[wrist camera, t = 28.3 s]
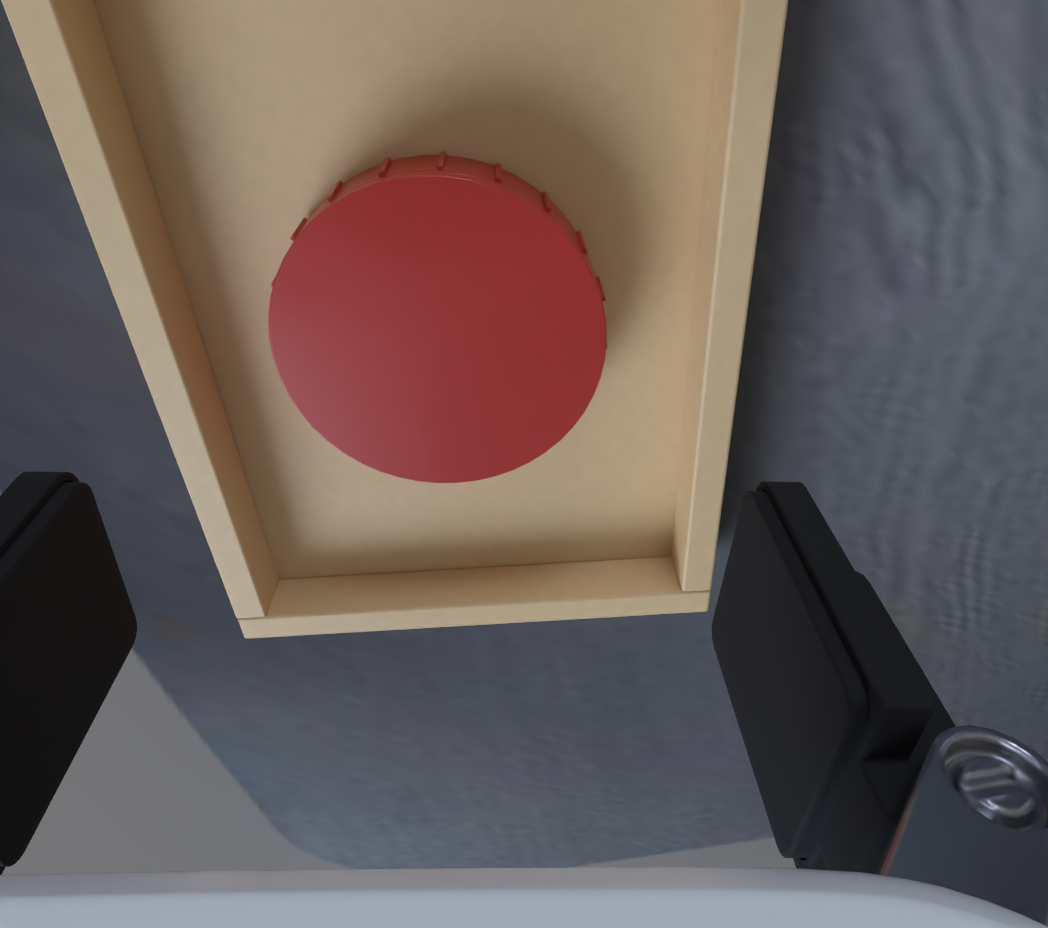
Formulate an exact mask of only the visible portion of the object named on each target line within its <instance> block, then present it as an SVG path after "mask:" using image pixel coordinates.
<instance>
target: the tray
mask: <svg viewBox="0 0 1048 928" xmlns="http://www.w3.org/2000/svg"><path fill="white" fill-rule="evenodd" d="M1 1H2V3H3V6H4V8H5V11H6V14H7V16H8V19H9V22H10V24H11V27H12V29H13V32H14V35H15V37H16V40H17V43H18V45H19V48H20V50H21V53H22V56H23V58H24V61H25V64H26V66H27V69H28V71H29V74H30V77H31V79H32V82H33V85H34V87H35V90H36V92H37V95H38V98H39V100H40V103H41V106H42V108H43V111H44V113H45V116H46V119H47V121H48V124H49V127H50V129H51V132H52V134H53V137H54V140H55V142H56V145H57V148H58V150H59V153H60V155H61V158H62V161H63V163H64V166H65V169H66V171H67V174H68V176H69V179H70V182H71V184H72V187H73V190H74V192H75V195H76V197H77V200H78V203H79V205H80V208H81V211H82V213H83V216H84V218H85V221H86V224H87V226H88V229H89V232H90V234H91V237H92V239H93V242H94V245H95V247H96V250H97V253H98V255H99V258H100V260H101V263H102V266H103V268H104V271H105V274H106V276H107V279H108V281H109V284H110V287H111V289H112V292H113V295H114V297H115V300H116V302H117V305H118V308H119V310H120V313H121V316H122V318H123V321H124V324H125V326H126V329H127V331H128V334H129V337H130V339H131V342H132V345H133V347H134V350H135V352H136V355H137V358H138V360H139V363H140V366H141V368H142V371H143V373H144V376H145V379H146V381H147V384H148V387H149V389H150V392H151V394H152V397H153V400H154V402H155V405H156V408H157V410H158V413H159V415H160V418H161V421H162V423H163V426H164V429H165V431H166V434H167V436H168V439H169V442H170V444H171V447H172V450H173V452H174V455H175V457H176V460H177V463H178V465H179V468H180V471H181V473H182V476H183V478H184V481H185V484H186V486H187V489H188V492H189V494H190V497H191V499H192V502H193V505H194V507H195V510H196V513H197V515H198V518H199V520H200V523H201V526H202V528H203V531H204V534H205V536H206V539H207V541H208V544H209V547H210V549H211V552H212V555H213V557H214V560H215V562H216V565H217V568H218V570H219V573H220V576H221V578H222V581H223V583H224V586H225V589H226V591H227V594H228V597H229V599H230V602H231V604H232V607H233V610H234V612H235V615H236V617H237V618H238V621H239V624H240V627H241V629H242V632H243V634H244V637H245V638H264V637H281V636H298V635H315V634H332V633H349V632H366V631H383V630H400V629H417V628H434V627H451V626H467V625H484V624H501V623H518V622H535V621H552V620H569V619H586V618H603V617H620V616H637V615H654V614H671V613H688V612H705V611H707V610H708V608H709V600H710V593H711V591H710V589H711V585H712V577H713V570H714V562H715V555H716V547H717V539H718V532H719V524H720V517H721V509H722V501H723V494H724V486H725V479H726V471H727V463H728V456H729V448H730V441H731V433H732V425H733V418H734V410H735V402H736V395H737V387H738V380H739V372H740V364H741V357H742V349H743V342H744V334H745V326H746V319H747V311H748V304H749V296H750V288H751V281H752V273H753V266H754V258H755V250H756V243H757V235H758V228H759V220H760V212H761V205H762V197H763V190H764V182H765V174H766V167H767V159H768V152H769V144H770V136H771V129H772V121H773V113H774V106H775V98H776V91H777V83H778V75H779V68H780V60H781V53H782V45H783V37H784V30H785V22H786V15H787V7H788V0H1ZM441 151H446V155H450V156H456V157H463V158H470V159H474V160H477V161H481V162H484V163H487V164H491V165H494V166H495V165H496V163H499V164H501V169H503V170H505V171H507V172H510V173H512V174H514V175H516V176H517V177H519V178H521V179H522V180H524V181H526V182H527V183H529V184H530V185H532V186H534V187H535V188H536V189H537V190H538V191H540V192H541V193H543V192H544V191H546V192H547V193H548V195H549V199H550V200H551V201H552V203H553V204H554V205H555V206H556V207H557V208H558V209H559V210H560V211H561V212H562V213H563V214H564V215H565V217H566V218H567V219H568V221H569V222H570V224H571V225H572V227H573V228H574V229H575V231H576V232H577V231H579V230H580V231H581V233H582V235H583V239H584V242H585V246H586V249H587V254H588V256H589V259H590V262H591V265H592V268H593V271H594V274H595V277H598V276H599V278H600V282H601V285H602V288H603V291H604V294H605V298H606V301H603V306H604V312H605V317H606V329H607V345H608V346H607V349H606V356H605V362H604V366H603V370H602V374H601V378H600V381H599V383H598V386H597V388H596V391H595V394H594V396H593V398H592V399H591V401H590V403H589V405H588V407H587V408H586V410H585V412H584V413H583V415H582V416H581V417H580V419H579V420H578V421H577V423H576V424H575V425H574V427H573V428H572V429H571V430H570V431H569V432H568V433H567V434H566V435H565V436H564V437H563V438H562V439H561V440H560V441H559V442H558V443H557V444H555V445H554V446H553V447H552V448H550V449H549V450H548V451H547V452H545V453H544V454H542V455H541V456H539V457H537V458H536V459H534V460H533V461H531V462H529V463H527V464H525V465H523V466H521V467H519V468H517V469H515V470H512V471H510V472H507V473H504V474H501V475H498V476H495V477H491V478H486V479H482V480H477V481H470V482H461V483H431V482H421V481H414V480H409V479H404V478H399V477H396V476H393V475H390V474H386V473H383V472H380V471H378V470H375V469H373V468H371V467H368V466H366V465H364V464H362V463H360V462H358V461H356V460H355V459H353V458H351V457H349V456H348V455H346V454H344V453H343V452H341V451H340V450H339V449H337V448H336V447H334V446H333V445H332V444H330V443H329V442H328V441H326V440H325V439H324V438H323V437H322V436H321V435H320V434H319V433H318V432H317V431H316V430H315V429H313V428H312V426H311V425H310V424H309V423H308V422H307V421H306V419H305V418H304V417H303V416H302V415H301V414H300V412H299V411H298V409H297V408H296V406H295V405H294V403H293V402H292V400H291V399H290V397H289V396H288V394H287V392H286V390H285V388H284V386H283V384H282V382H281V380H280V378H279V375H278V372H277V369H276V366H275V363H274V360H273V356H272V351H271V346H270V340H269V326H268V314H269V304H270V296H271V292H272V288H273V287H271V284H272V281H273V280H274V278H275V277H276V274H277V272H278V270H279V267H280V265H281V263H282V260H283V258H284V256H285V255H286V253H287V251H288V250H289V248H290V247H291V245H292V243H293V242H294V241H293V240H291V239H290V238H291V236H292V234H293V233H294V231H295V230H296V228H297V227H298V225H299V224H300V222H301V221H302V219H303V218H304V217H305V218H306V219H309V217H310V215H311V214H312V213H313V212H314V210H315V209H316V208H317V207H318V206H319V205H320V204H321V202H322V201H323V200H324V199H325V198H326V197H327V196H328V195H329V194H330V193H331V191H332V190H333V188H334V186H335V185H336V183H337V182H338V181H340V180H341V181H342V182H343V183H344V182H346V181H348V180H349V179H351V178H352V177H354V176H356V175H357V174H359V173H361V172H363V171H365V170H367V169H370V168H372V167H374V166H377V165H379V164H382V163H383V161H384V159H385V158H388V157H390V158H391V161H393V160H396V159H400V158H405V157H413V156H421V155H440V152H441Z"/></svg>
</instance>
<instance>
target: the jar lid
mask: <svg viewBox="0 0 1048 928" xmlns="http://www.w3.org/2000/svg"><path fill="white" fill-rule="evenodd" d="M290 239H291V240H293V241H294V242H293V243H292V245H291V247H290V248H289V250H288V251H287V253H286V255H285V256H284V258H283V260H282V263H281V265H280V267H279V270H278V272H277V274H276V277H275V278H274V280H273V281H272V284H271V287H273V288H272V292H271V296H270V304H269V314H268V326H269V340H270V346H271V351H272V356H273V360H274V363H275V366H276V369H277V372H278V375H279V378H280V380H281V382H282V384H283V386H284V388H285V390H286V392H287V394H288V396H289V397H290V399H291V400H292V402H293V403H294V405H295V406H296V408H297V409H298V411H299V412H300V414H301V415H302V416H303V417H304V418H305V419H306V421H307V422H308V423H309V424H310V425H311V426H312V428H313V429H315V430H316V431H317V432H318V433H319V434H320V435H321V436H322V437H323V438H324V439H325V440H326V441H328V442H329V443H330V444H332V445H333V446H334V447H336V448H337V449H339V450H340V451H341V452H343V453H344V454H346V455H348V456H349V457H351V458H353V459H355V460H356V461H358V462H360V463H362V464H364V465H366V466H368V467H371V468H373V469H375V470H378V471H380V472H383V473H386V474H390V475H393V476H396V477H399V478H404V479H409V480H414V481H421V482H431V483H461V482H470V481H477V480H482V479H486V478H491V477H495V476H498V475H501V474H504V473H507V472H510V471H512V470H515V469H517V468H519V467H521V466H523V465H525V464H527V463H529V462H531V461H533V460H534V459H536V458H537V457H539V456H541V455H542V454H544V453H545V452H547V451H548V450H549V449H550V448H552V447H553V446H554V445H555V444H557V443H558V442H559V441H560V440H561V439H562V438H563V437H564V436H565V435H566V434H567V433H568V432H569V431H570V430H571V429H572V428H573V427H574V425H575V424H576V423H577V421H578V420H579V419H580V417H581V416H582V415H583V413H584V412H585V410H586V408H587V407H588V405H589V403H590V401H591V399H592V398H593V396H594V394H595V391H596V388H597V386H598V383H599V381H600V378H601V374H602V370H603V366H604V362H605V356H606V349H607V346H608V345H607V329H606V317H605V312H604V306H603V301H606V298H605V294H604V291H603V288H602V285H601V282H600V278H599V276H598V277H595V274H594V271H593V268H592V265H591V262H590V259H589V256H588V254H587V249H586V246H585V242H584V239H583V235H582V233H581V231H580V230H579V231H577V232H576V231H575V229H574V228H573V227H572V225H571V224H570V222H569V221H568V219H567V218H566V217H565V215H564V214H563V213H562V212H561V211H560V210H559V209H558V208H557V207H556V206H555V205H554V204H553V203H552V201H551V200H550V199H549V195H548V193H547V192H546V191H544V192H543V193H541V192H540V191H538V190H537V189H536V188H535V187H534V186H532V185H530V184H529V183H527V182H526V181H524V180H522V179H521V178H519V177H517V176H516V175H514V174H512V173H510V172H507V171H505V170H503V169H501V164H499V163H496V165H495V166H494V165H491V164H487V163H484V162H481V161H477V160H474V159H470V158H463V157H456V156H450V155H446V151H441V152H440V155H421V156H413V157H405V158H400V159H396V160H393V161H391V158H390V157H388V158H385V159H384V161H383V163H382V164H379V165H377V166H374V167H372V168H370V169H367V170H365V171H363V172H361V173H359V174H357V175H356V176H354V177H352V178H351V179H349V180H348V181H346V182H344V183H343V182H342V181H341V180H340V181H338V182H337V183H336V185H335V186H334V188H333V190H332V191H331V193H330V194H329V195H328V196H327V197H326V198H325V199H324V200H323V201H322V202H321V204H320V205H319V206H318V207H317V208H316V209H315V210H314V212H313V213H312V214H311V215H310V217H309V219H306V218H305V217H304V218H303V219H302V221H301V222H300V224H299V225H298V227H297V228H296V230H295V231H294V233H293V234H292V236H291V238H290Z"/></svg>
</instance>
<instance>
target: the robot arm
mask: <svg viewBox="0 0 1048 928" xmlns="http://www.w3.org/2000/svg"><path fill="white" fill-rule="evenodd" d="M136 632H137V622H136V617H135V614H134V611H133V608H132V606H131V603H130V600H129V597H128V594H127V591H126V588H125V585H124V582H123V579H122V577H121V574H120V571H119V568H118V565H117V562H116V559H115V556H114V553H113V550H112V548H111V545H110V542H109V539H108V536H107V533H106V530H105V527H104V524H103V521H102V518H101V516H100V513H99V510H98V507H97V504H96V501H95V498H94V495H93V492H92V490H91V488H90V487H89V486H88V485H87V484H86V483H80V482H79V480H78V478H77V477H76V476H75V475H74V474H72V473H69V472H25V473H22V474H21V475H20V476H18V477H17V478H16V479H15V480H14V481H13V483H12V484H11V485H10V486H9V487H8V488H7V489H6V490H5V491H4V492H3V493H2V495H1V496H0V928H1048V762H1047V761H1046V760H1045V759H1044V758H1043V757H1042V756H1040V755H1039V754H1038V753H1037V752H1036V751H1035V750H1033V749H1031V748H1030V747H1028V746H1027V745H1025V744H1023V743H1022V742H1020V741H1018V740H1017V739H1015V738H1013V737H1011V736H1008V735H1006V734H1003V733H1001V732H998V731H995V730H993V729H989V728H983V727H978V726H972V725H969V726H957V727H956V726H955V725H954V723H953V721H952V720H951V718H950V716H949V715H948V713H947V711H946V709H945V708H944V706H943V704H942V703H941V701H940V699H939V698H938V696H937V694H936V693H935V691H934V689H933V688H932V686H931V684H930V683H929V681H928V679H927V678H926V676H925V674H924V673H923V671H922V669H921V668H920V666H919V664H918V663H917V661H916V659H915V658H914V656H913V654H912V653H911V651H910V649H909V648H908V646H907V644H906V643H905V641H904V639H903V638H902V636H901V634H900V633H899V631H898V629H897V628H896V626H895V624H894V623H893V621H892V619H891V618H890V616H889V614H888V613H887V611H886V609H885V608H884V606H883V604H882V603H881V601H880V599H879V598H878V596H877V594H876V593H875V591H874V589H873V588H872V586H871V584H870V583H869V581H868V580H867V579H866V578H865V576H864V575H862V574H860V573H859V572H857V571H855V570H854V569H853V567H852V565H851V564H850V562H849V560H848V558H847V557H846V555H845V553H844V552H843V550H842V548H841V546H840V545H839V543H838V541H837V540H836V538H835V536H834V535H833V533H832V531H831V529H830V528H829V526H828V524H827V523H826V521H825V519H824V517H823V516H822V514H821V512H820V511H819V509H818V507H817V506H816V504H815V502H814V500H813V499H812V497H811V495H810V494H809V492H808V490H807V488H806V487H805V486H804V485H803V483H800V482H761V483H760V484H759V485H758V487H757V489H756V491H748V492H746V494H745V495H744V498H743V502H742V506H741V510H740V514H739V518H738V522H737V526H736V530H735V534H734V538H733V542H732V546H731V550H730V554H729V558H728V562H727V566H726V570H725V574H724V578H723V582H722V586H721V590H720V594H719V598H718V602H717V606H716V610H715V614H714V618H713V623H712V639H713V645H714V649H715V652H716V655H717V658H718V661H719V664H720V667H721V671H722V674H723V677H724V680H725V683H726V686H727V689H728V693H729V696H730V699H731V702H732V705H733V708H734V712H735V715H736V718H737V721H738V724H739V727H740V730H741V734H742V737H743V740H744V743H745V746H746V749H747V752H748V756H749V759H750V762H751V765H752V768H753V771H754V775H755V778H756V781H757V784H758V787H759V790H760V793H761V797H762V800H763V803H764V806H765V809H766V812H767V816H768V819H769V822H770V825H771V828H772V831H773V834H774V838H775V841H776V844H777V846H778V849H779V851H780V853H781V854H782V856H784V857H785V858H793V859H794V862H795V865H796V869H795V868H715V867H598V868H597V867H594V868H593V867H591V868H590V867H583V868H440V869H346V870H271V871H270V870H266V871H195V872H194V871H191V872H133V873H132V872H131V873H75V874H74V873H72V874H71V873H70V874H14V875H13V874H12V875H1V874H2V872H3V870H4V869H5V867H6V866H12V865H13V864H15V863H16V862H17V861H18V860H19V859H20V858H21V856H22V855H23V853H24V852H25V850H26V848H27V846H28V844H29V842H30V840H31V838H32V836H33V834H34V833H35V831H36V829H37V827H38V825H39V823H40V821H41V819H42V817H43V815H44V814H45V812H46V810H47V808H48V806H49V804H50V802H51V800H52V798H53V796H54V795H55V793H56V791H57V789H58V787H59V785H60V783H61V781H62V779H63V777H64V775H65V774H66V772H67V770H68V768H69V766H70V764H71V762H72V760H73V758H74V756H75V755H76V753H77V751H78V749H79V747H80V745H81V743H82V741H83V739H84V737H85V735H86V734H87V732H88V730H89V728H90V726H91V724H92V722H93V720H94V718H95V717H96V715H97V713H98V711H99V709H100V707H101V705H102V703H103V701H104V699H105V697H106V696H107V694H108V692H109V690H110V688H111V686H112V684H113V682H114V680H115V678H116V677H117V675H118V673H119V671H120V669H121V667H122V665H123V663H124V661H125V659H126V657H127V656H128V654H129V652H130V650H131V648H132V646H133V644H134V641H135V638H136Z"/></svg>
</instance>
